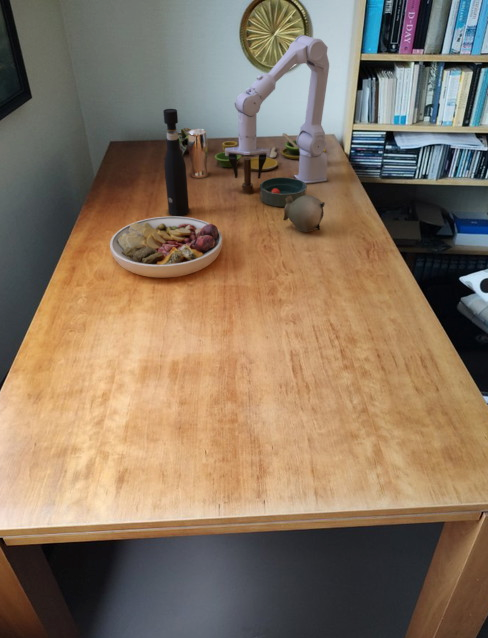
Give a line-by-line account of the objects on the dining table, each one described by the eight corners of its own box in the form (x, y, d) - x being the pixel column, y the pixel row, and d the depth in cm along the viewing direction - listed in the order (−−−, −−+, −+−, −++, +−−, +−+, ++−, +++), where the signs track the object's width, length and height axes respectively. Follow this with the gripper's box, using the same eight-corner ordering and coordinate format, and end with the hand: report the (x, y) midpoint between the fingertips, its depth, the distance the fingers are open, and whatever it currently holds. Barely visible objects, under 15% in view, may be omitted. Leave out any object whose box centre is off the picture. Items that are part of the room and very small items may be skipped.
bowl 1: (118, 290, 137) (113, 262, 132) (108, 239, 159) (104, 213, 154) (234, 274, 143) (233, 246, 138) (209, 227, 165) (208, 201, 160)
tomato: (274, 193, 178) (268, 196, 181) (281, 197, 180) (275, 200, 182) (275, 185, 179) (269, 188, 181) (282, 189, 181) (276, 193, 183)
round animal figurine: (294, 219, 170) (296, 186, 163) (329, 227, 165) (333, 194, 158) (278, 231, 163) (279, 197, 156) (315, 240, 158) (318, 206, 152)
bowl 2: (295, 188, 189) (296, 175, 187) (312, 204, 178) (313, 191, 175) (253, 193, 186) (253, 180, 183) (268, 210, 175) (268, 196, 172)
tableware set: (326, 151, 220) (328, 134, 216) (323, 175, 199) (325, 158, 195) (225, 146, 224) (224, 130, 220) (211, 170, 203) (211, 152, 199)
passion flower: (190, 164, 224) (206, 139, 218) (182, 168, 214) (199, 142, 209) (168, 146, 222) (184, 120, 216) (159, 149, 213) (175, 122, 207)
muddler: (252, 189, 188) (252, 157, 181) (253, 193, 186) (253, 160, 179) (242, 190, 188) (241, 157, 181) (242, 194, 185) (242, 160, 178)
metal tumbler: (208, 178, 197) (206, 134, 187) (189, 178, 197) (185, 134, 187) (209, 171, 202) (207, 128, 192) (190, 171, 202) (188, 128, 192)
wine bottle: (190, 208, 176) (183, 107, 157) (187, 216, 171) (179, 113, 152) (171, 207, 177) (161, 107, 158) (166, 216, 172) (156, 113, 153)
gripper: (223, 138, 173) (225, 181, 182) (269, 138, 172) (269, 181, 181) (225, 131, 178) (227, 173, 187) (270, 132, 178) (269, 174, 186)
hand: (247, 177), depth 184 cm, fingers open, 7 cm apart
